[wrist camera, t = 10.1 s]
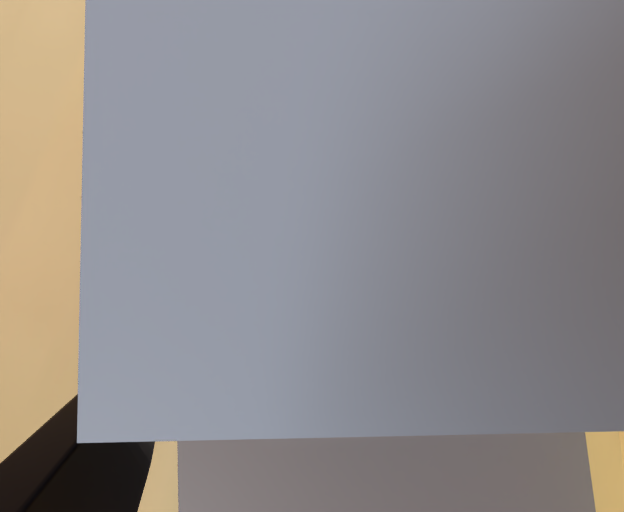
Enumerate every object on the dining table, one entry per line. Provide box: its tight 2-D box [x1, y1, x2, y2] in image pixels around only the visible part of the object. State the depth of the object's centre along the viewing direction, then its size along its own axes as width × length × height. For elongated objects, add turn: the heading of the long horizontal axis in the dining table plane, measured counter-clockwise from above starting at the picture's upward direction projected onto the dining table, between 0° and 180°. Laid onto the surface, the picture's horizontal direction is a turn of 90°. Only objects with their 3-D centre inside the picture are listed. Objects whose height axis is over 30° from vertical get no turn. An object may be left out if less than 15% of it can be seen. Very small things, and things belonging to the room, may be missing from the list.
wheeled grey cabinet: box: [77, 0, 624, 443], centre depth 10 cm, size 8×7×13 cm
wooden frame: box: [178, 431, 624, 512], centre depth 16 cm, size 18×14×4 cm
